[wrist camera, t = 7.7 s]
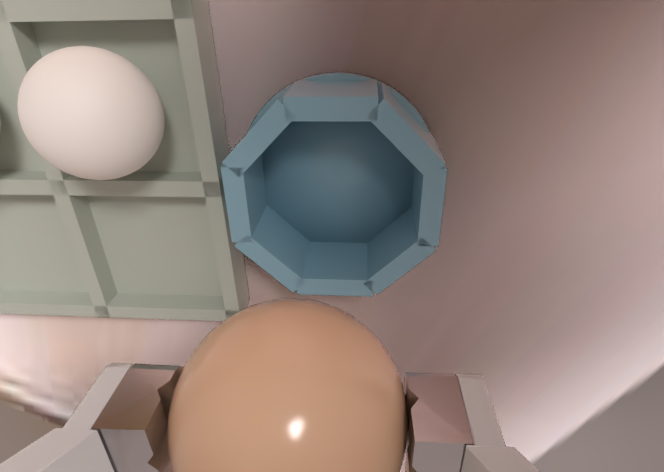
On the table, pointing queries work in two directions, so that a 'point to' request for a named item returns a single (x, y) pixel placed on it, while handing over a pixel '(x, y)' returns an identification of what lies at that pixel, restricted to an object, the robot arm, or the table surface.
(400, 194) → the egg cup
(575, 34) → the table surface
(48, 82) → the egg carton
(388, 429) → the brown egg
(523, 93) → the table surface
